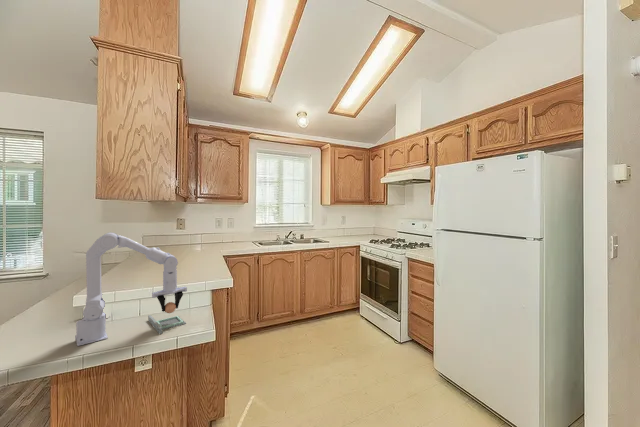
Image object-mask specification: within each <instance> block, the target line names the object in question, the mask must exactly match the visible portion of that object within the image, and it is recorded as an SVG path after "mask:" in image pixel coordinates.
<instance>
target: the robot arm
mask: <svg viewBox="0 0 640 427" xmlns="http://www.w3.org/2000/svg"><path fill="white" fill-rule="evenodd" d="M116 246H117V248H129V249H131V250H133V251H136V252H138V253H140V254H143V255H144V256H145V259H146V260H149V261H151V262H153V263H156V264H158V265H163V271H162V273H163V274H162V290H158V291H155V292H151V297H152V298H153V299H155V298H157V300H158V303H159V304H160V307H161V311H162V312H165V305H166V297H165V296H169V295H174V303H175V305H176V309H179V306H180V302H181V299H182V297H183V296H184V293H186V292H187V291H188V287H187V286H182V287H181V286H180V287H178V270H177V269H178V267H177V266H178V264H179V261H178V259H177V257H176V256H175V255H174V254H171V253H170V252H165V251H164V250H162V249H161V248H160V247H158V246H157V247H155V246H153V247H147V246H146V245H143V244H141V243H140V242H138V241H135V240H134V239H132V238H129V237H128V236H127V237H126V236H124V235H120V234H117V233H115V232H111V231H110V232H107V233H104V234H103V235H102V236H99V237H98V238H97V239H96V240H95V241H94V242H93V243H92V245H91V246H90V247H89V248H88V250H87V251H86V253H85V257H86V258H85V259H86V262H85V263H86V265H85V266H86V269H85V270H86V298H85V299H86V300H85V308H84V309H83V311H82V319H79V320H76V322H75V323H76V324H75V327H76V329H75V331H76V333H75V341H76V345H77V347H79V346H83V345H87V344H90V343H91V344H92V343H95V342H98V341H99V342H100V341H103V340H106V339H108V337H109V336H108V334H107V330H106V329H107V328H106V324H107V323H106V319H107V318H106V314H105V313H104V312H103V309H104V307H105V301H104V300H103V298H102V295H103V292H102V256H103V255H104V254H105V253H107V251H111V250H112V249H115V248H116ZM176 309H175V310H176Z"/></svg>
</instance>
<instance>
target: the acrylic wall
mask: <svg viewBox="0 0 640 427" xmlns="http://www.w3.org/2000/svg"><path fill="white" fill-rule="evenodd" d="M147 317H148V318H147V320H148V322H149V324H150V325H151V326H152V327H153V328H154V329H155V330H156V332H157V333H158V334H159V335H162V334H163V330H162V327H161V326H160V325H159V324H158V323H157V321H158V320H156V319H155V318H154V317H153V316H152V315H151V314H148V316H147Z"/></svg>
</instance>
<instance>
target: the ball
mask: <svg viewBox="0 0 640 427" xmlns="http://www.w3.org/2000/svg"><path fill="white" fill-rule="evenodd" d="M175 311H176V305H175V302H173V301H169V302H167V303H165V311H164V312H165V313H166V314H172V313H174V312H175Z"/></svg>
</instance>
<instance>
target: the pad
mask: <svg viewBox="0 0 640 427" xmlns="http://www.w3.org/2000/svg"><path fill="white" fill-rule="evenodd" d="M156 321H157V323H158V324H159V325H160V326H161V327H162V331H164V330H167V329H171V328H175V327H179V326H183V325H186V324H187V323H186V321H185V320H183V319H182V318H181V317H180V316H179V315H174V316H170V317H167V318H163V319H160V320H156Z"/></svg>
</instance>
